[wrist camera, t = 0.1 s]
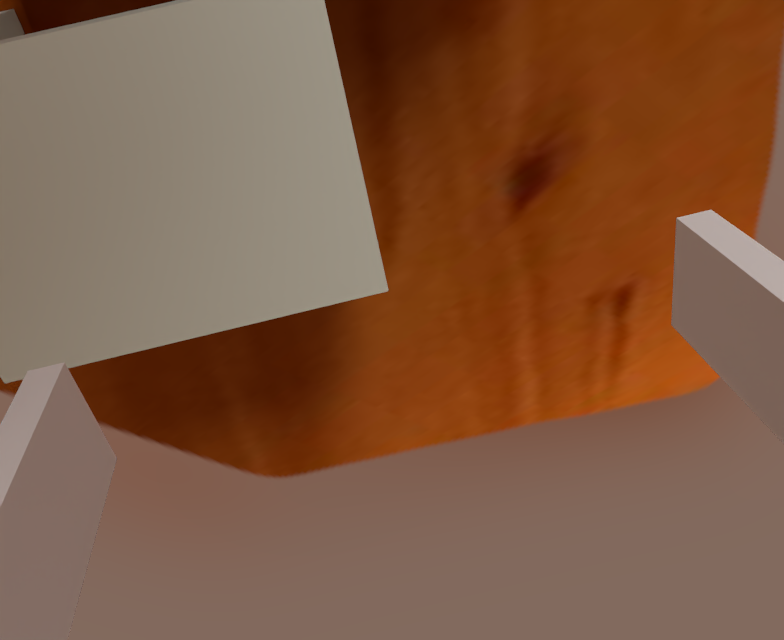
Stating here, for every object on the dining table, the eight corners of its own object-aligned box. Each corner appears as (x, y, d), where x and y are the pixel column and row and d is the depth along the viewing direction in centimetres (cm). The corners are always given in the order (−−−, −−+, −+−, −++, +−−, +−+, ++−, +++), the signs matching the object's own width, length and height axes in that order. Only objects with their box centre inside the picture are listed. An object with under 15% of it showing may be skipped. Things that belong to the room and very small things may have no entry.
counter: (-10, 14, 35) (-183, 85, 21) (299, -56, 35) (318, -29, 22) (90, 227, 41) (4, 383, 28) (350, 165, 42) (388, 291, 28)
